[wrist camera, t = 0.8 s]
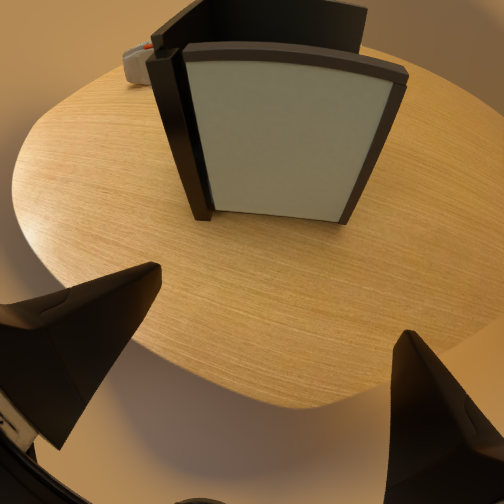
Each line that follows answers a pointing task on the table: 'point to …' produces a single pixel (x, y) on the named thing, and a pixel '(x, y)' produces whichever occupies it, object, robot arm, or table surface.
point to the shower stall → (226, 30)
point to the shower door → (291, 124)
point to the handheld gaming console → (137, 63)
